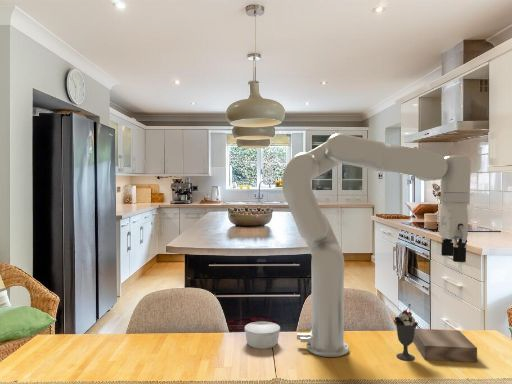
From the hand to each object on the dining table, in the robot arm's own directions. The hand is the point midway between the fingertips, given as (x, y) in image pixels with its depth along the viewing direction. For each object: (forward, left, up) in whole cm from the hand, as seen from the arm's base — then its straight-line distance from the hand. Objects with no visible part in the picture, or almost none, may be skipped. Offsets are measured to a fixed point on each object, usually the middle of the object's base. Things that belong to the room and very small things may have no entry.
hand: (452, 258), depth 118 cm
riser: (-1, +4, -28) cm, 29 cm away
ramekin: (-55, +3, -29) cm, 62 cm away
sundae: (-13, -2, -29) cm, 32 cm away
